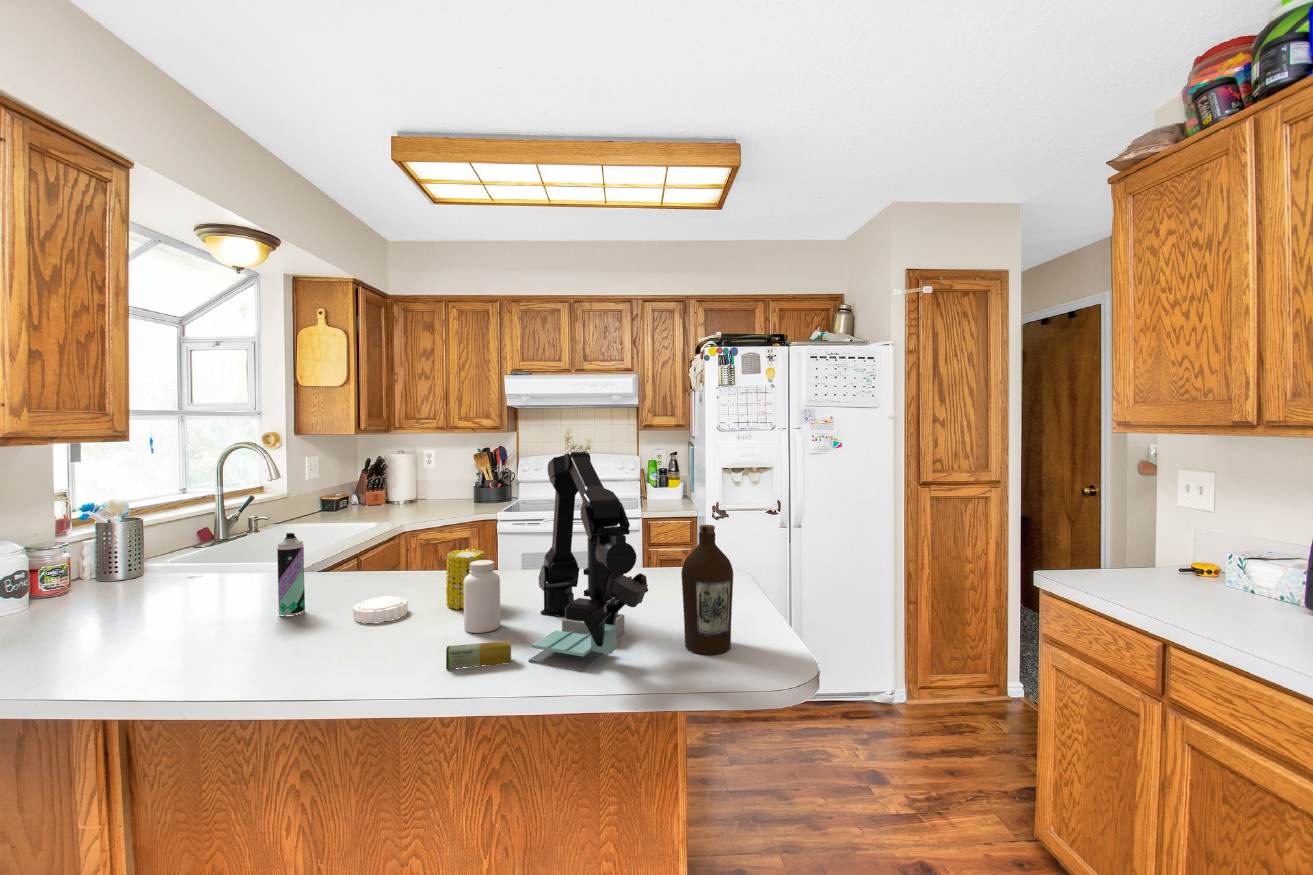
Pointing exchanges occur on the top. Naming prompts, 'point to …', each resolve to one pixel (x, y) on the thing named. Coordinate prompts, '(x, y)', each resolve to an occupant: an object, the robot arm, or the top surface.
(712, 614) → the olive oil
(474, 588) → the pill bottle
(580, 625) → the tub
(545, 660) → the mat
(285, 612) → the spray can
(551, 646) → the lid
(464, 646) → the medication box
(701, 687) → the top surface
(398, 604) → the mooncake
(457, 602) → the food
